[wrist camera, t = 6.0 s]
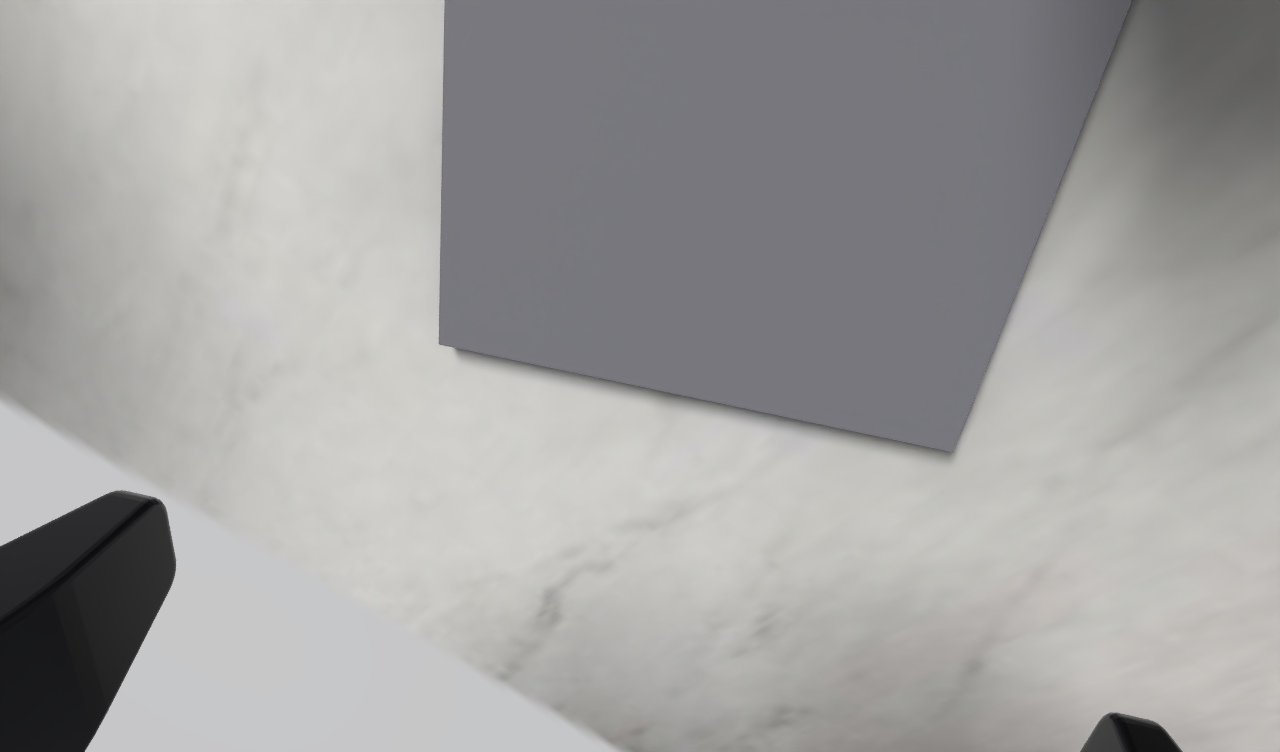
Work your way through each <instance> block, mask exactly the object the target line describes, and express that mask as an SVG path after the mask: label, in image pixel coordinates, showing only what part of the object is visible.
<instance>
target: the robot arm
mask: <svg viewBox="0 0 1280 752" xmlns="http://www.w3.org/2000/svg"><path fill="white" fill-rule="evenodd" d="M175 571H176V558H175V552H174V547H173V542H172V536H171V531H170V526H169V521H168V515H167V511H166V507H165V506H164V504H163V503H162V502H161V500H159V499H157V498H155V497H151V496H146V495H142V494H137V493H133V492H128V491H114V492H111V493H108V494H106V495H104V496H102V497H100V498H97V499H95V500H93V501H91V502H90V503H87V504H85V505H83V506H81V507H79V508H77V509H75V510H74V511H71V512H69V513H67V514H65V515H63V516H61V517H59V518H57V519H55V520H53V521H51V522H49V523H47V524H45V525H43V526H41V527H39V528H37V529H35V530H33V531H31V532H29V533H27V534H25V535H23V536H20V537H18V538H17V539H14V540H13V541H10V542H9V543H6V544H4V545H2V546H0V752H85V750H86V748H87V747H88V745H89V743H90V742H91V740H92V739H93V737H94V735H95V734H96V732H97V730H98V728H99V726H100V724H101V722H102V721H103V719H104V717H105V715H106V713H107V712H108V710H109V707H110V706H111V704H112V702H113V700H114V698H115V696H116V694H117V692H118V690H119V688H120V686H121V684H122V682H123V680H124V678H125V676H126V674H127V672H128V670H129V668H130V666H131V664H132V663H133V661H134V659H135V657H136V655H137V653H138V651H139V649H140V647H141V645H142V642H143V641H144V639H145V637H146V635H147V633H148V631H149V629H150V627H151V625H152V623H153V621H154V619H155V617H156V615H157V613H158V612H159V610H160V608H161V606H162V604H163V601H164V600H165V598H166V596H167V594H168V592H169V590H170V588H171V585H172V582H173V580H174V576H175ZM1080 752H1183V751H1182V750H1181V749H1180V748H1179V746H1178V745H1177V744H1176V743H1175V741H1174V740H1173V739H1172V738H1171V736H1170V735H1169V734H1168V733H1167V731H1166V730H1165V729H1164V728H1163V727H1161V726H1160V725H1159V724H1157V723H1156V722H1154V721H1151V720H1147V719H1143V718H1138V717H1134V716H1129V715H1125V714H1120V713H1109V714H1107V715H1105V716H1103V717H1102V719H1101V720H1100V721H1099V722H1098V724H1097V726H1096V727H1095V729H1094V730H1093V732H1092V734H1091V735H1090V737H1089V738H1088V740H1087V742H1086V743H1085V745H1084V746H1083V748H1082V750H1081V751H1080Z"/></svg>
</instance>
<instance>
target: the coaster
mask: <svg viewBox="0 0 1280 752" xmlns="http://www.w3.org/2000/svg"><path fill="white" fill-rule="evenodd" d="M1131 2H1132V0H445V13H444V71H443V129H442V188H441V246H440V305H439V344H440V345H444V346H449V347H454V348H459V349H463V350H468V351H473V352H478V353H482V354H487V355H492V356H497V357H501V358H506V359H511V360H516V361H520V362H525V363H530V364H535V365H540V366H544V367H549V368H554V369H559V370H563V371H568V372H573V373H578V374H582V375H587V376H592V377H597V378H601V379H606V380H611V381H616V382H620V383H625V384H630V385H635V386H640V387H644V388H649V389H654V390H659V391H663V392H668V393H673V394H678V395H682V396H687V397H692V398H697V399H701V400H706V401H711V402H716V403H721V404H725V405H730V406H735V407H740V408H744V409H749V410H754V411H759V412H763V413H768V414H773V415H778V416H782V417H787V418H792V419H797V420H801V421H806V422H811V423H816V424H821V425H825V426H830V427H835V428H840V429H844V430H849V431H854V432H859V433H863V434H868V435H873V436H878V437H882V438H887V439H892V440H897V441H902V442H906V443H911V444H916V445H921V446H925V447H930V448H935V449H940V450H944V451H949V452H953V451H954V449H955V446H956V444H957V441H958V439H959V436H960V433H961V431H962V428H963V426H964V423H965V421H966V418H967V416H968V413H969V411H970V408H971V406H972V403H973V401H974V398H975V396H976V393H977V391H978V388H979V386H980V383H981V380H982V378H983V375H984V373H985V370H986V368H987V365H988V363H989V360H990V358H991V355H992V353H993V350H994V348H995V345H996V343H997V340H998V338H999V335H1000V333H1001V330H1002V328H1003V325H1004V322H1005V320H1006V317H1007V315H1008V312H1009V310H1010V307H1011V305H1012V302H1013V300H1014V297H1015V295H1016V292H1017V290H1018V287H1019V285H1020V282H1021V280H1022V277H1023V275H1024V272H1025V269H1026V267H1027V264H1028V262H1029V259H1030V257H1031V254H1032V252H1033V249H1034V247H1035V244H1036V242H1037V239H1038V237H1039V234H1040V232H1041V229H1042V227H1043V224H1044V222H1045V219H1046V217H1047V214H1048V211H1049V209H1050V206H1051V204H1052V201H1053V199H1054V196H1055V194H1056V191H1057V189H1058V186H1059V184H1060V181H1061V179H1062V176H1063V174H1064V171H1065V169H1066V166H1067V164H1068V161H1069V158H1070V156H1071V153H1072V151H1073V148H1074V146H1075V143H1076V141H1077V138H1078V136H1079V133H1080V131H1081V128H1082V126H1083V123H1084V121H1085V118H1086V116H1087V113H1088V111H1089V108H1090V106H1091V103H1092V100H1093V98H1094V95H1095V93H1096V90H1097V88H1098V85H1099V83H1100V80H1101V78H1102V75H1103V73H1104V70H1105V68H1106V65H1107V63H1108V60H1109V58H1110V55H1111V53H1112V50H1113V47H1114V45H1115V42H1116V40H1117V37H1118V35H1119V32H1120V30H1121V27H1122V25H1123V22H1124V20H1125V17H1126V15H1127V12H1128V10H1129V7H1130V5H1131Z"/></svg>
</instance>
